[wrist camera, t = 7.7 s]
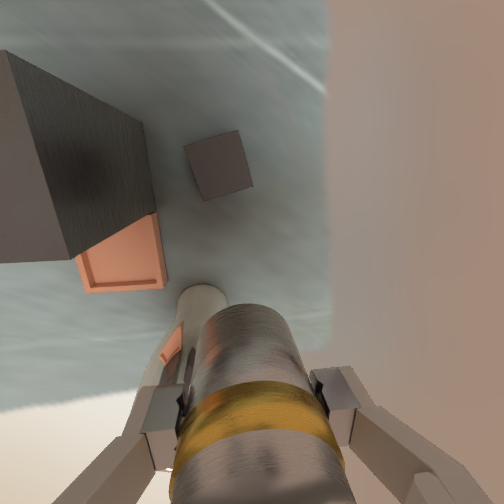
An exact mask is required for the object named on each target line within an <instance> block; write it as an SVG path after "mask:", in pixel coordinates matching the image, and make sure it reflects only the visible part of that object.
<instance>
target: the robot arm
mask: <svg viewBox="0 0 504 504" xmlns="http://www.w3.org/2000/svg"><path fill="white" fill-rule="evenodd" d="M309 378H310V380H311V386H312V388H313V391H314V394H315V396H316V399H317V400H318V401H319V402H320V403H321V405H322V407H323V408H324V411H325V413H326V416H327V418H328V421H329V423H330V426H331V428H332V431H333V433H334V436H335V438H336V441H337V443H338V446H339V447H341V446H349V447H350V449H351V450H352V451H353V452H354V453H355V454H356V455H357V456H358V457H359V458H360V460H362V462H363V463H364V464H365V465H366V466H367V467H368V468H369V469H370V470H371V471H372V472H373V474H374V475H375V476H376V477H377V478H378V479H379V480H380V481H381V482H382V483H383V484H384V485H385V487H386V488H387V489H388V490H389V491H390V492H391V493H392V494H393V495H394V496H395V497H396V498H397V499H398V501H399V502H400V503H401V504H493V502H492V501H491V500H490V498H489V497H488V496H487V495H486V493H485V492H484V491H483V490H482V488H481V487H480V486H479V485H478V483H477V482H476V481H475V479H474V478H473V477H472V476H471V475H470V473H469V472H468V471H467V469H466V468H465V467H464V466H463V465H462V464H461V463H459V462H458V461H456V460H455V459H454V458H452V457H450V455H448V454H447V453H445V452H444V451H443V450H441V449H440V448H438V447H437V446H436V445H434V444H433V443H431V442H430V441H428V440H427V439H426V438H424V437H423V436H422V435H420V434H419V433H417V432H416V431H415V430H413V429H412V428H410V427H409V426H408V425H406V424H405V423H403V422H402V421H400V420H399V419H398V418H396V417H395V416H394V415H392V414H391V413H389V412H388V411H387V410H385V409H384V408H382V407H381V406H376V405H375V403H374V402H373V400H372V399H371V397H370V396H369V394H368V392H367V391H366V389H365V388H364V386H363V384H362V383H361V381H360V380H359V378H358V377H357V375H356V373H355V372H354V370H353V368H351V367H350V366H343V367H332V368H323V369H314V370H311V371H310V377H309ZM186 396H187V385H186V383H178V384H164V385H153V386H143V387H142V388H141V389H140V391H139V393H138V395H137V398H136V400H135V403H134V405H133V408H132V410H131V413H130V416H129V418H128V420H127V423H126V426H125V428H124V431H123V433H122V436H119V437H116V438H115V439H114V440H113V441H112V442H111V443H110V444H109V445H108V446H107V447H106V448H105V449H104V450H103V451H102V452H101V453H100V454H99V455H98V457H96V459H95V460H94V461H93V462H92V463H91V464H90V465H89V466H88V467H87V468H86V469H85V470H84V471H83V472H82V473H81V474H80V475H79V476H78V477H77V478H76V479H75V480H74V481H73V482H72V483H71V484H70V485H69V487H68V488H67V489H66V490H65V491H64V492H63V493H62V494H61V495H60V496H59V497H58V498H57V499H56V500H55V501H54V502H53V503H52V504H136V503H137V501H138V500H139V498H140V497H141V495H142V494H143V492H144V490H145V489H146V487H147V486H148V484H149V483H150V481H151V479H152V478H153V476H154V475H155V471H160V470H166V469H172V468H173V463H174V457H175V452H176V446H177V440H178V435H179V431H180V427H181V424H182V423H183V421H184V419H185V414H186V409H187V403H188V398H187V397H186Z"/></svg>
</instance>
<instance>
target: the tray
mask: <svg viewBox="0 0 504 504" xmlns="http://www.w3.org/2000/svg"><path fill="white" fill-rule="evenodd" d="M75 259H76V263H77V266H78V269H79V272H80V276H81V279H82V282H83V286H84V289H85V292H86V293H99V292H115V291H130V290H146V289H161V288H164V287H165V285H166V283H167V281H168V280H167V274H166V267H165V261H164V255H163V249H162V243H161V236H160V230H159V224H158V218H157V212H152V213H150V214H148V215H146V216H145V217H143V218H141V219H140V220H138V221H136V222H134V223H133V224H131V225H129V226H128V227H126V228H124V229H122V230H121V231H119V232H117V233H116V234H114V235H112V236H110V237H109V238H107V239H105V240H103V241H102V242H100V243H98V244H97V245H95V246H93V247H91V248H90V249H88V250H86V251H85V252H83V253H81V254H79V255H78V256H76V257H75Z"/></svg>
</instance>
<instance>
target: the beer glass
mask: <svg viewBox="0 0 504 504" xmlns="http://www.w3.org/2000/svg"><path fill="white" fill-rule="evenodd" d="M227 307H228V303H227V299H226V297H225V295H224V294H223V293H222V292H221V291H220V290H219V289H217V288H216V287H214V286H211V285H206V284H199V285H194V286H191V287H189V288H187V289H186V290H185V291H184V292H183V293H182V294H181V295H180V297H179V299H178V302H177V313H176V318H175V320H174V322H173V323H172V325H171V326H170V328H169V329H168V331H167V332H166V333H165V335H164V336H163V338H162V339H161V341H160V342H159V344H158V346H157V347H156V349H155V351H154V352H153V354H152V356H151V358H150V360H149V362H148V365H147V367H146V369H145V371H144V374H143V377H142V379H141V382H140V385H139V387H138V390H137V394H136V397H135V400H136V398H137V395H138V393H139V391H140V389H141V388H142V387H143V386H153V385H164V384H178V383H186V385H187V396H186V397H187V398H188V397H189V391H190V385H191V379H192V373H193V367H194V361H195V355H196V349H197V343H198V338H199V334H200V331H201V329H202V327H203V326H204V324H205V323H206V322H207V321H208V320H209V319H210V318H211V317H212V316H213V315H214V314H216V313H217V312H219V311H221V310H223V309H225V308H227ZM135 400H134V403H135ZM134 403H133V405H134ZM132 408H133V406H132ZM160 471H163V472H172V469H166V470H160Z"/></svg>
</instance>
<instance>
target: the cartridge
mask: <svg viewBox="0 0 504 504" xmlns="http://www.w3.org/2000/svg"><path fill="white" fill-rule="evenodd" d="M169 497H170V500H171V504H356V501H355V498H354V496H353V493H352V491H351V488H350V485H349V483H348V480H347V477H346V475H345V463H344V459H343V456H342V454H341V451H340V448H339V446H338V443H337V441H336V438H335V436H334V433H333V431H332V428H331V426H330V423H329V421H328V418H327V416H326V413H325V411H324V408H323V407H322V405H321V403H320V402H319V401H318V400H317V399H316V396H315V394H314V391H313V388H312V386H311V383H310V381H309V378H308V375H307V373H306V370H305V368H304V365H303V362H302V360H301V357H300V354H299V352H298V349H297V347H296V344H295V341H294V339H293V336H292V334H291V331H290V328H289V326H288V324H287V322H286V321H285V319H284V318H283V317H282V316H281V315H280V314H279V313H277V312H276V311H274V310H273V309H271V308H269V307H266V306H263V305H258V304H237V305H233V306H230V307H227V308H225V309H223V310H221V311H219V312H217V313H216V314H214V315H213V316H212V317H211V318H210V319H209V320H208V321H207V322H206V323H205V324H204V326H203V327H202V329H201V331H200V334H199V338H198V343H197V349H196V355H195V361H194V367H193V373H192V379H191V385H190V391H189V397H188V403H187V409H186V414H185V419H184V421H183V423H182V424H181V427H180V431H179V435H178V440H177V446H176V452H175V457H174V463H173V468H172V474H171V479H170V485H169Z"/></svg>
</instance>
